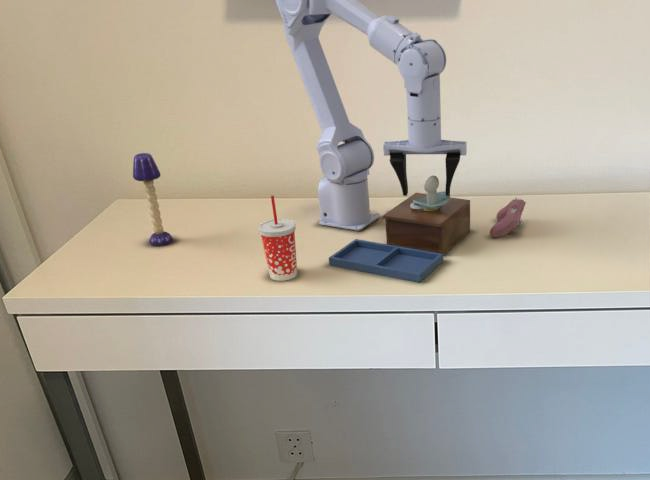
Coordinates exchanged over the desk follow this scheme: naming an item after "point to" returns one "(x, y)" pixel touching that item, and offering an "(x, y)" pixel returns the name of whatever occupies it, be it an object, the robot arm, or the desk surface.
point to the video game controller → (508, 218)
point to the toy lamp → (151, 195)
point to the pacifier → (431, 196)
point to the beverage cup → (279, 246)
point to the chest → (429, 233)
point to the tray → (386, 260)
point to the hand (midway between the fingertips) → (426, 194)
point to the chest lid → (426, 217)
